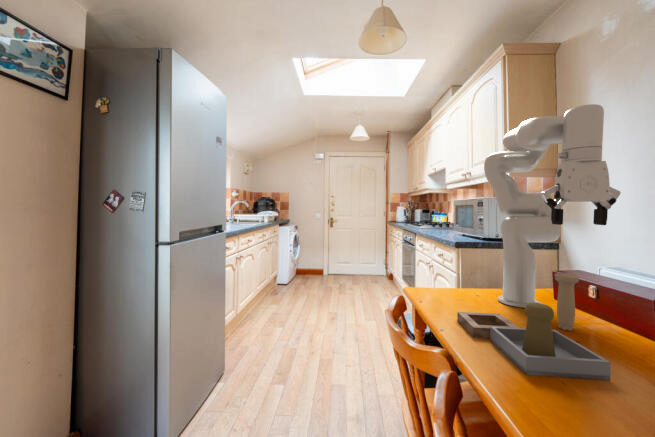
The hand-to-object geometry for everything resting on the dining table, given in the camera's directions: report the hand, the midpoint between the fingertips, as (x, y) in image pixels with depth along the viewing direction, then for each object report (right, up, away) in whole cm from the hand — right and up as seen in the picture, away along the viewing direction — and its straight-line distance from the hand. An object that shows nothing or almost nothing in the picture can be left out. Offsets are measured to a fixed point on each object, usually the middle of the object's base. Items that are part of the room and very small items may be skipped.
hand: (578, 224), depth 71 cm
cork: (-17, -29, -9) cm, 35 cm away
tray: (-17, -29, -9) cm, 35 cm away
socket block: (-20, -29, +6) cm, 36 cm away
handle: (+2, -30, +7) cm, 30 cm away
